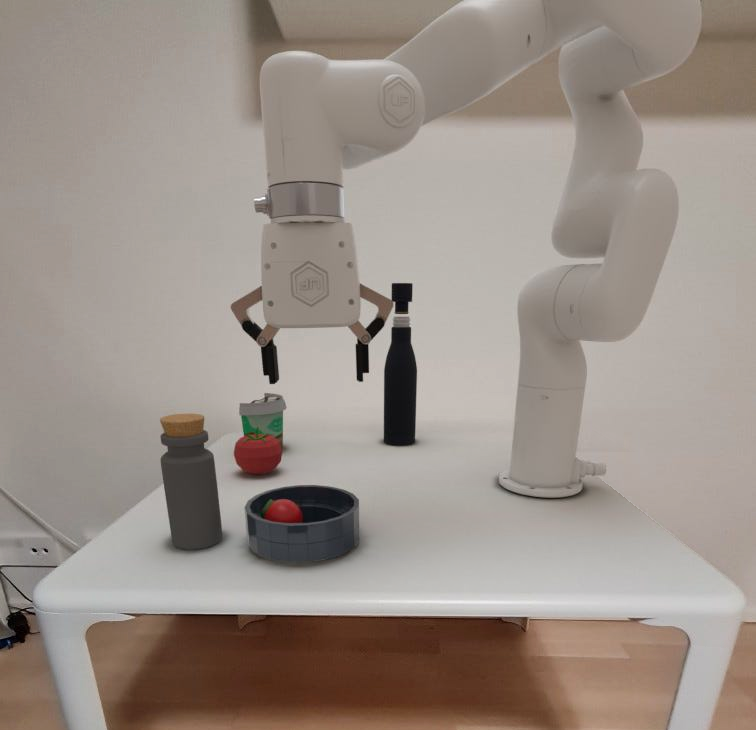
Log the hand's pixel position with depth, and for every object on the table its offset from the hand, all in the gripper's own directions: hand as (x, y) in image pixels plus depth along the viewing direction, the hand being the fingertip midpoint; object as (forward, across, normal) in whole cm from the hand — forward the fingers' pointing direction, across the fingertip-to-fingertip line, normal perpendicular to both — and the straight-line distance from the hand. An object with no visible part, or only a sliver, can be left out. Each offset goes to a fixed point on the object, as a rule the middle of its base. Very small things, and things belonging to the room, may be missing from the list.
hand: (317, 381), depth 61 cm
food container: (+19, -12, +39) cm, 45 cm away
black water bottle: (+20, +13, +45) cm, 51 cm away
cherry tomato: (+17, -3, -3) cm, 17 cm away
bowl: (+19, -2, -3) cm, 19 cm away
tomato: (+19, -12, +25) cm, 34 cm away
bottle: (+19, -16, -2) cm, 24 cm away
